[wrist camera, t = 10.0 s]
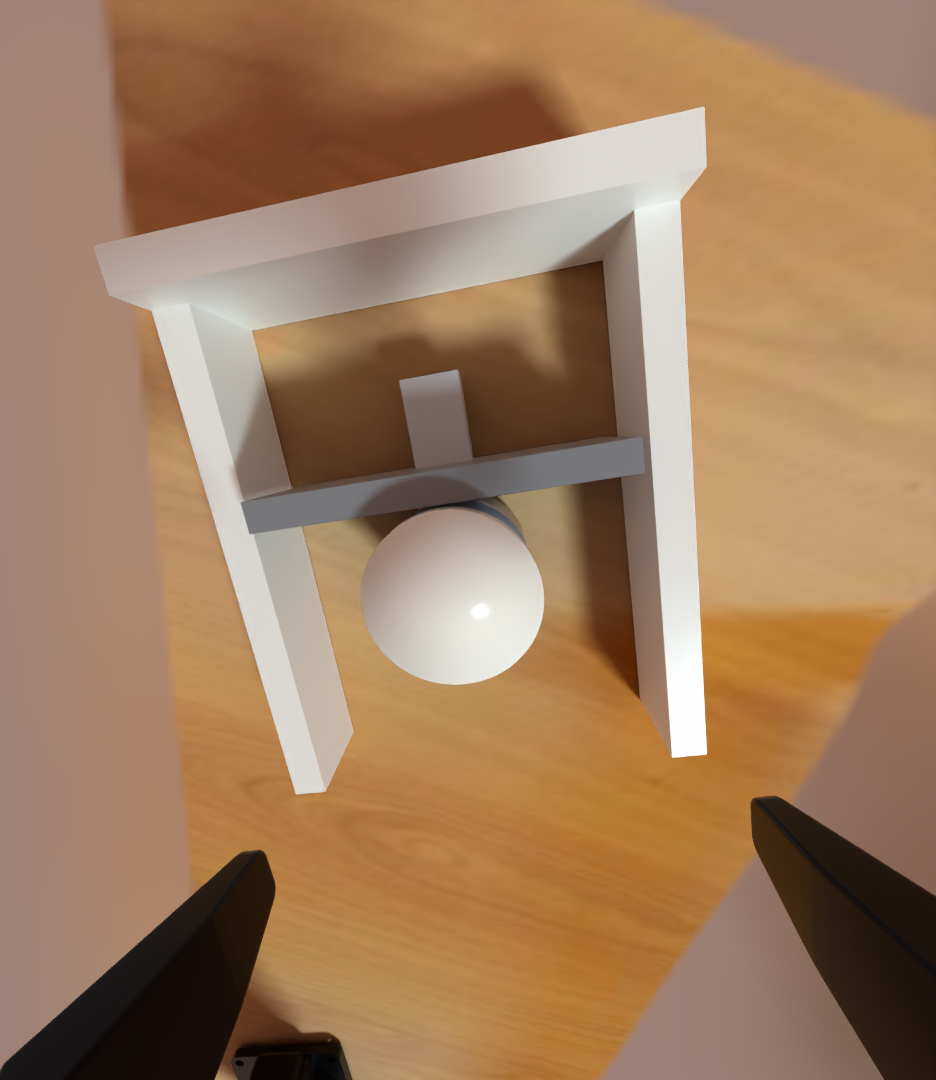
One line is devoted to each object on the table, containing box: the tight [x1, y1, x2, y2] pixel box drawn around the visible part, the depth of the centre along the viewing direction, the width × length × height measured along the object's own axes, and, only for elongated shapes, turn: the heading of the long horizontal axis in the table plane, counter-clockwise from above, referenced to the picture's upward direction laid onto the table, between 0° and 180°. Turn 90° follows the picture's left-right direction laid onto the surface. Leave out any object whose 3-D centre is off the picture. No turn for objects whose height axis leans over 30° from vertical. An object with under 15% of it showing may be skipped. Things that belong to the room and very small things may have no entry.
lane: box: [93, 107, 707, 794], centre depth 15 cm, size 19×15×5 cm
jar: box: [361, 497, 544, 685], centre depth 15 cm, size 5×5×6 cm
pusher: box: [240, 370, 645, 534], centre depth 14 cm, size 4×12×4 cm, turn 99°
